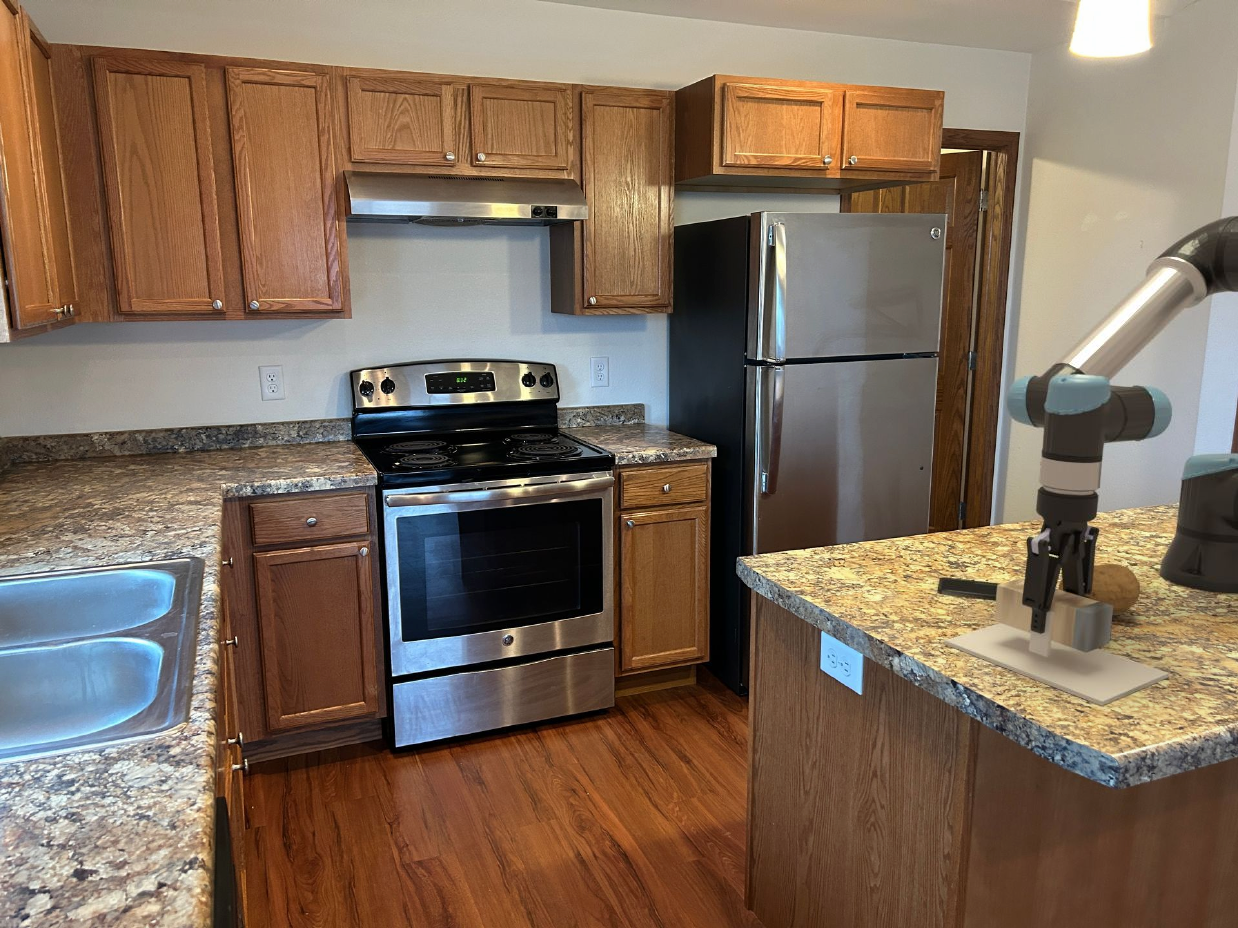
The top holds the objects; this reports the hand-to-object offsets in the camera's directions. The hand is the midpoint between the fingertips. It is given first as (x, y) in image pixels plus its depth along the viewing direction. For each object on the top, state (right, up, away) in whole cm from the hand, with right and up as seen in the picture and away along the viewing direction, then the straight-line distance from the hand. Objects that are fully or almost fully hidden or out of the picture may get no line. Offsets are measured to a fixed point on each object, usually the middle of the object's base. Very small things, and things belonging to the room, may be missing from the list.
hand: (1052, 648), depth 130 cm
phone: (+2, +3, +29) cm, 29 cm away
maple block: (-4, +6, +5) cm, 9 cm away
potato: (+15, +1, +18) cm, 23 cm away
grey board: (0, -2, 0) cm, 2 cm away
